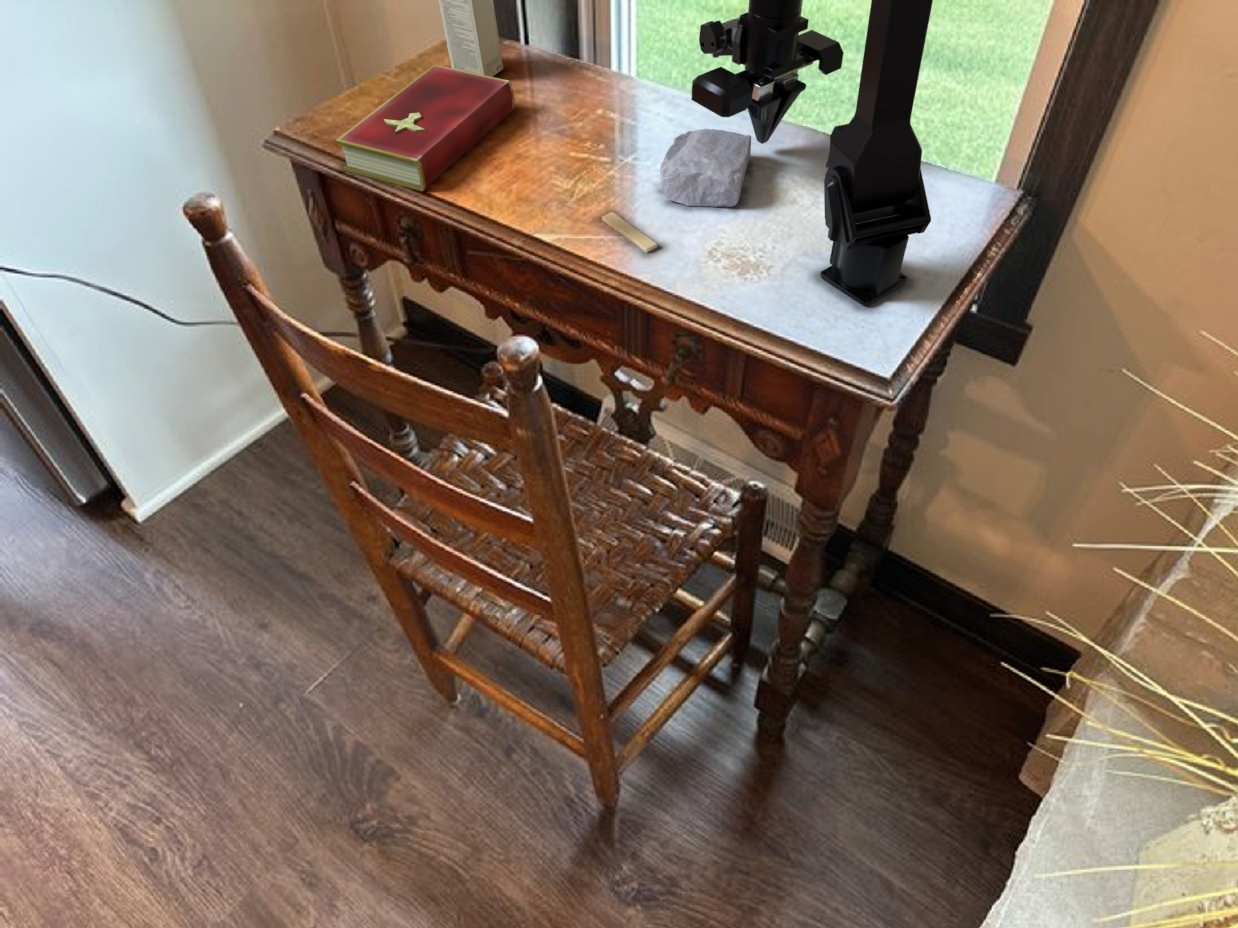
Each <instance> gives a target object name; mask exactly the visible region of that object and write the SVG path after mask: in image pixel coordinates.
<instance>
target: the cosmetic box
mask: <svg viewBox="0 0 1238 928" xmlns="http://www.w3.org/2000/svg"><path fill="white" fill-rule="evenodd" d="M438 5H439V10H440V11H439V12H440V16H441V20H442V25H443V29H444V35H445V41H446V45H447V52H448V56H449V62H450V66H451V67H450V68H454V69H458V70H463V71H467V72H472V73H477V74H481V75H486V76H490V77H495V76H496V75H497V74H498V73H499V72H501V71H502V70H504V63H503V58H502V49H501V44H500V36H499V30H498V29H499V28H498V26H497V25H498V23H497V16H496V10H495V4H494V0H438Z"/></svg>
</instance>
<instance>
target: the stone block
mask: <svg viewBox="0 0 1238 928" xmlns="http://www.w3.org/2000/svg"><path fill="white" fill-rule="evenodd" d="M751 150H752V135H750V134H747V135H746V134H743V133H737V132H734V131H727V130H724V129H714V128H711V129H710V128H702V129H698V130H690V131H687V132H685V133H680V134H679V135H678V136H676V137H674V139H673V143H672V145H670V147H669V148H668V149H667V152H666V153H665V155H664V156H663V159H662V162H661V164H660V168H659V170H660V187H661V190H662V192H663V195H664V196H665V197H666V199H668V201H670V202H671V201H672V202H674V203H678V204H681V205H683V206H686V207H714V208H716V207H719V208H723V207H726V208H733V207H736V206H737V204H738V203H739V200H740V196H741V192H742V189H743V185H744V181H745V176H746V174H747V173H746V172H747V167H748V164H749V162H750V156H751Z"/></svg>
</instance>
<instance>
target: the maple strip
mask: <svg viewBox="0 0 1238 928" xmlns="http://www.w3.org/2000/svg"><path fill="white" fill-rule="evenodd" d="M601 219H602V221H603V222H604V223H606V224H607V225H608V226H610V227H611V228H612V229H614V230H615V231H616V232H618V233H619V234H620V235H622V236H623V237H625V238H626V240H627V239H628V241H630V242H631V243H633V244H634V245H636V246H637V247H638V248H640V249H641V250H643V252H645V253H649V252H651V251H653V250H655V249H658V243H657V242H655V241H654V240H653V239H651V238H650V237H648V236H647V235H645V234H644V232H642V231H640V230H639V229H637V228H636V227H635V226H634V225H631V223H629V222H627V220H626V219H623V218H622V217H621V216H619V215H618V214H616V213H615V212H614V211H611V212H609V213H607V214H604V215H603V216H601Z"/></svg>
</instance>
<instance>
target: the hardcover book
mask: <svg viewBox="0 0 1238 928" xmlns="http://www.w3.org/2000/svg"><path fill="white" fill-rule="evenodd" d="M514 109H515V93H514V89H513V85H512V82H511V81H510V80H509V79H505V78H504V79H503V78H499V77H495V76H493V77H490V76H486V75H481V74H477V73H472V72H467V71H463V70H458V69H454V68H452V67H449V66H444V65H439V64H435V63H434V64H433V65H431V66H429V68H427V69H426V70H425V71H423V72H422V73H421V74H419V75H418V76H417V77H416V78H414V79H413V80H412V81H410V82H409V83H408V84H406V85H405V86H404V87H403V88H401V89H400V90H398V92H396V93H395V94H394V95H392V96H391V97H390V98H388V99H387V100H385V101H384V102H383V103H382V104H380V105H379V106H378V107H376V108H375V109H374V110H373V111H371V112H370V113H369V114H368V115H365V117H364V118H362V119H361V120H360V121H358V122H357V123H356V124H355V125H353V126H352V127H351V128H349V129H348V130H347V131H345V132H344V133H343V134H341V135H340V136H338V137H337V138H336V139H335V140H334V141H335V143H336V144H337V145H341V149H342V151H343V156H344V159H345V162H346V164H345V165H344V166H343V167H342V169H343V171H346V172H350V173H354V174H355V175H359V176H365V177H367V178H371V179H376V180H379V181H383V182H386V183H390V184H394V185H397V186H402V187H404V188H409V189H412V190H416V191H419V192H424V191H425V190H426V189H427V188H428V187H429V186H430V185H431V184H433V183H434V182H435V181H436V180H437V179H438V178H440V177H441V176H442V174H444V173H445V172H446V171H447V170H448V169H449V168H450V167H452V166H453V165H454V164H455V163H456V162H457V161H458V160H459V159H460V158H461V157H462V156H464V155H465V154H466V153H467V152H468V151H469V150H471V148H473V147H474V146H475V145H476V144H477V143H478V142H479V141H480V140H481V139H482V138H484V137H485V136H486V135H487V134H488V133H489V132H490V131H492V129H493V128H495V127H496V126H497V125H498V124H500V122H501V121H503V120H504V119H505V118H506V117H507V116H508V115H509V114H510V113H512V112H513V111H514Z"/></svg>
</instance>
